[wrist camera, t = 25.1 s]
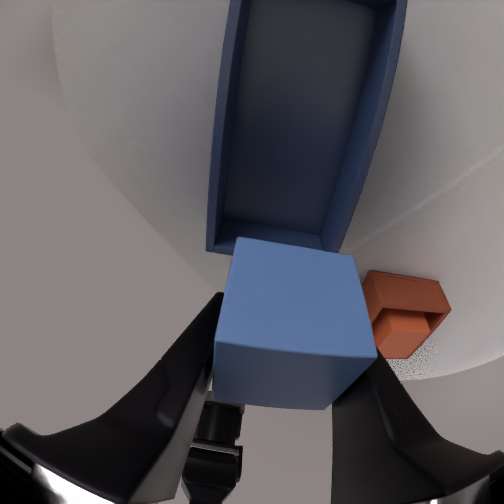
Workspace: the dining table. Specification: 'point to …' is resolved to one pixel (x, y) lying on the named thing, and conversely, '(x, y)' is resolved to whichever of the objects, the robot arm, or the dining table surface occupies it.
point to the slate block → (290, 327)
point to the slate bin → (298, 118)
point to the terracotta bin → (405, 298)
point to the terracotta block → (399, 331)
